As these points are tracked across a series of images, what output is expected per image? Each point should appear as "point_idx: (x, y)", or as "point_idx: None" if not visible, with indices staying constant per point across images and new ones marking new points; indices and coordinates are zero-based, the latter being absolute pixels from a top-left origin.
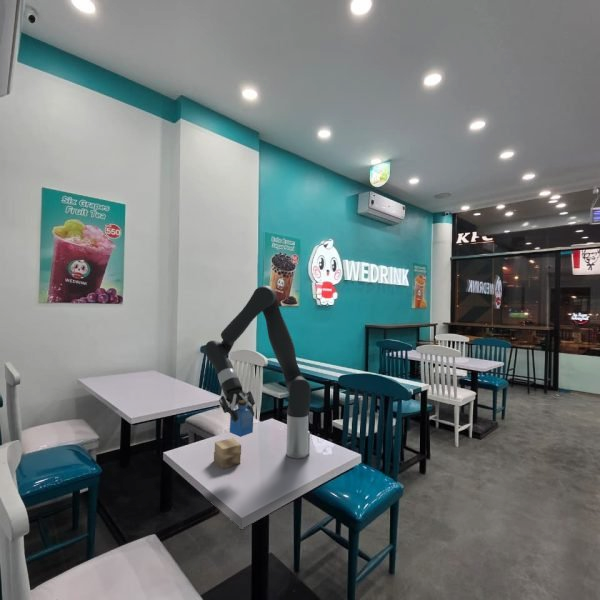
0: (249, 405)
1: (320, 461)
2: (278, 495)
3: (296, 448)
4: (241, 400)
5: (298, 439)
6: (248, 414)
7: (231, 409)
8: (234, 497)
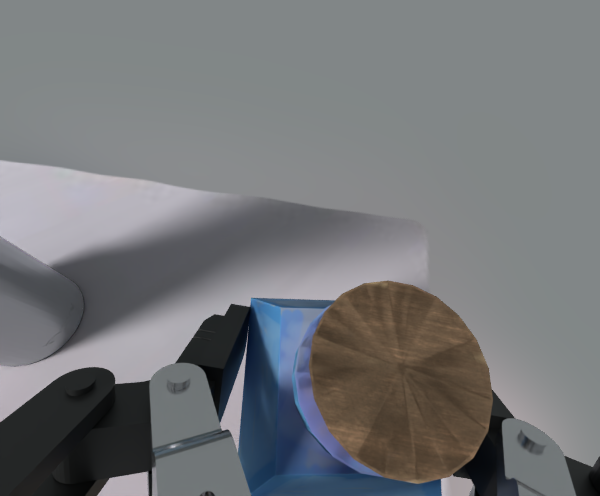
0: (203, 380)
1: (64, 219)
2: (311, 210)
3: (57, 278)
4: (393, 436)
5: (24, 254)
6: (310, 303)
7: (545, 436)
8: None
